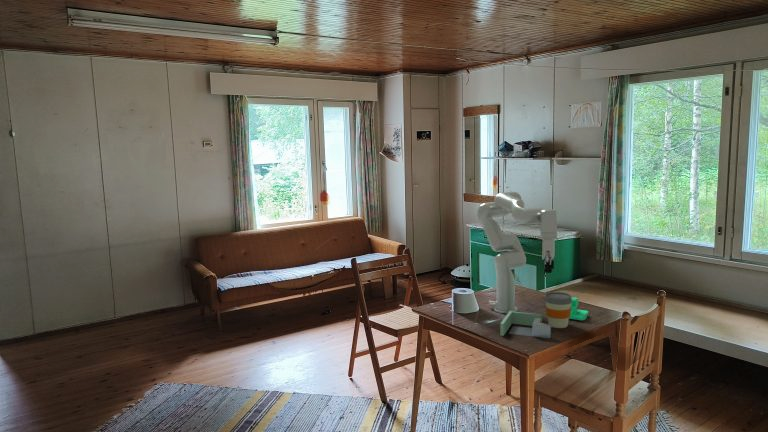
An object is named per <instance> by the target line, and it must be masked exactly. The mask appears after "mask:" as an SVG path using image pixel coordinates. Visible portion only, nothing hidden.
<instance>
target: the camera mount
mask: <svg viewBox="0 0 768 432" xmlns="http://www.w3.org/2000/svg"><path fill="white" fill-rule="evenodd" d="M578 305H579V299H578V297H572V303H571V313H570V317H569V320H572V319H573V320H575V321H576V320H577V321H585V320H586V319H587V317H588V315H589V311H588V310H584V309H583V310H582V309H577V308H578Z"/></svg>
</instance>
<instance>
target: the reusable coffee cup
mask: <svg viewBox="0 0 768 432" xmlns="http://www.w3.org/2000/svg"><path fill="white" fill-rule="evenodd" d="M544 297H545V298H544V301H545V315H546V316H547V317H546V318H547V324H551V328H556V329H565V328H567V327H568V325H569V320H570V319H569V317H570V313H571V303H572V298H573V297H572V295H571V294H570V293H567V292H566V293H565V292H562V291H561V292H559V291H553V292H552V291H551V292H548V293H545V296H544Z"/></svg>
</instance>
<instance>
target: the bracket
mask: <svg viewBox="0 0 768 432" xmlns="http://www.w3.org/2000/svg"><path fill="white" fill-rule="evenodd" d="M531 328H532V336H534V337H536V338H542V339H551V336H552V334H551V333H552V327H551V324H548V323H544V322H542V323H541V319H539V318H535V320H534V322H533V324H532V326H531Z"/></svg>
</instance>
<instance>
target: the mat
mask: <svg viewBox="0 0 768 432" xmlns="http://www.w3.org/2000/svg"><path fill="white" fill-rule="evenodd" d="M508 335H515V336H524V337H532V338H533V337H535V336H532V327H523V326H517V325H513V326H512V328H511V329H510V331H509V332H508Z"/></svg>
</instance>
